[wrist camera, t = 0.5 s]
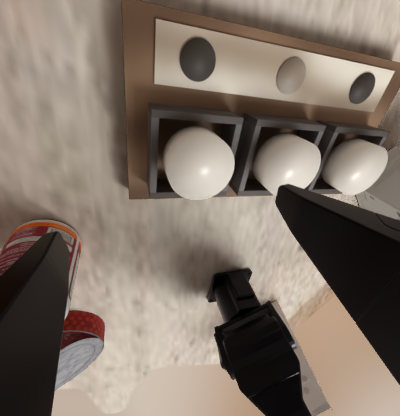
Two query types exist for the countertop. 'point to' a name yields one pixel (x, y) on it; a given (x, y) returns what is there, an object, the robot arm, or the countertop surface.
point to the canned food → (79, 344)
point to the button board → (241, 93)
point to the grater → (306, 375)
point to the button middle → (286, 162)
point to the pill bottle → (30, 234)
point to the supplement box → (384, 189)
